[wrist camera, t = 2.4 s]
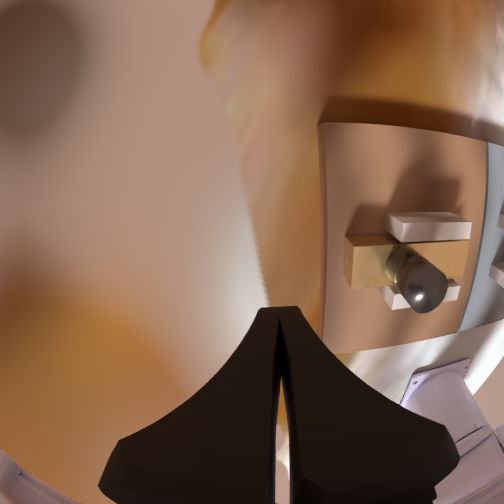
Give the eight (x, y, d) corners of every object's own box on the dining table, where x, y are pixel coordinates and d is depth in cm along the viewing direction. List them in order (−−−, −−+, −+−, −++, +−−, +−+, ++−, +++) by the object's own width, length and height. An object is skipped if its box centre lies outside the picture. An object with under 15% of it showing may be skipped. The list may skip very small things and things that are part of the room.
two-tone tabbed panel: (317, 338, 20) (326, 378, 16) (317, 125, 15) (333, 116, 11) (500, 306, 18) (524, 328, 14) (524, 155, 13) (557, 162, 9)
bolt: (343, 275, 16) (368, 323, 11) (345, 236, 15) (375, 273, 10) (448, 265, 15) (490, 301, 10) (454, 231, 14) (501, 260, 9)
